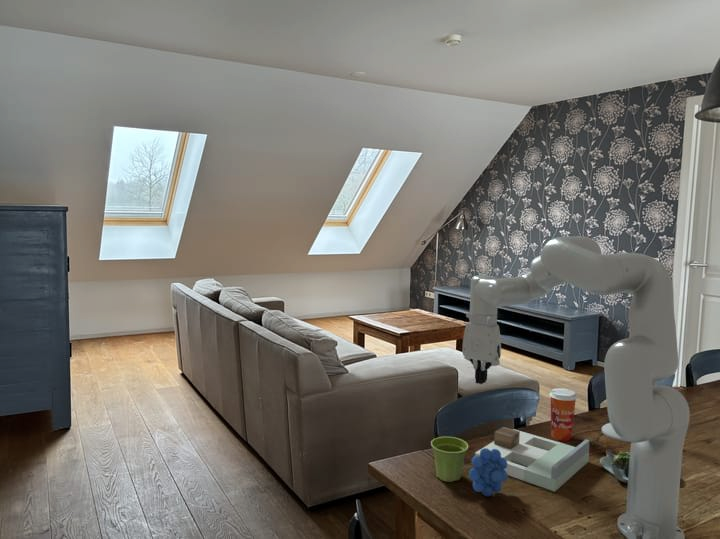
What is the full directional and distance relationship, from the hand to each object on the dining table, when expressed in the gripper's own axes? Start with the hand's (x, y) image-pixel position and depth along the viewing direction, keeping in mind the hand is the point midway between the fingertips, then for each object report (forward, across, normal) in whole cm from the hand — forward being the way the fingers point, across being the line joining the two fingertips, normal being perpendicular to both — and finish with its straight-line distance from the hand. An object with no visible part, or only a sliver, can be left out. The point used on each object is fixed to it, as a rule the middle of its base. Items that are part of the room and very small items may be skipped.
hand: (480, 382), depth 159 cm
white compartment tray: (+18, +16, 0) cm, 25 cm away
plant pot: (+19, +4, -22) cm, 29 cm away
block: (+16, +9, 0) cm, 18 cm away
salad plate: (+19, +39, +13) cm, 46 cm away
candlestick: (+19, +28, +38) cm, 51 cm away
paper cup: (+19, +15, +22) cm, 33 cm away
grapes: (+19, +17, -24) cm, 35 cm away
